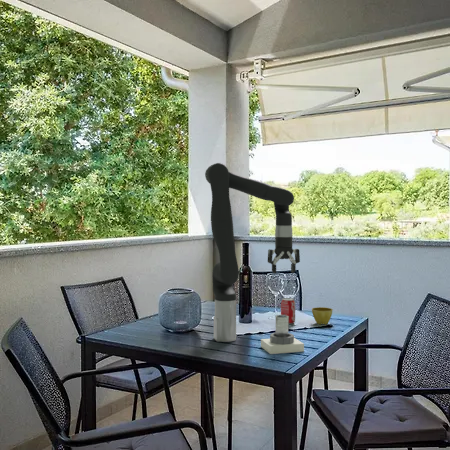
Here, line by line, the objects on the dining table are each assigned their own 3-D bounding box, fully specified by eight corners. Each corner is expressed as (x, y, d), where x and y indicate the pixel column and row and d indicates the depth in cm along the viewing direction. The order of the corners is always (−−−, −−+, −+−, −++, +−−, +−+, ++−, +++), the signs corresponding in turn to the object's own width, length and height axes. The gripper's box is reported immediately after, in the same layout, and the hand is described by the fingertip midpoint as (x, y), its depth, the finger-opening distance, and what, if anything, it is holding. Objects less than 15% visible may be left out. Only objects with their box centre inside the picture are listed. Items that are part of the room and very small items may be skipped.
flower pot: (310, 321, 238) (310, 307, 238) (330, 321, 238) (330, 307, 238) (313, 325, 228) (313, 311, 228) (334, 325, 228) (334, 311, 228)
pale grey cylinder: (278, 343, 185) (278, 317, 185) (273, 340, 190) (273, 314, 190) (290, 342, 186) (290, 316, 186) (285, 339, 191) (285, 314, 191)
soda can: (293, 321, 238) (293, 297, 237) (296, 324, 231) (296, 300, 230) (279, 321, 237) (279, 297, 237) (282, 324, 230) (282, 300, 230)
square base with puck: (270, 354, 181) (270, 339, 181) (260, 346, 192) (260, 333, 192) (304, 351, 185) (304, 337, 185) (292, 344, 195) (292, 330, 195)
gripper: (271, 236, 202) (271, 274, 202) (302, 236, 205) (302, 273, 205) (265, 235, 209) (265, 272, 209) (295, 235, 212) (295, 271, 213)
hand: (283, 272), depth 207 cm, fingers open, 8 cm apart
